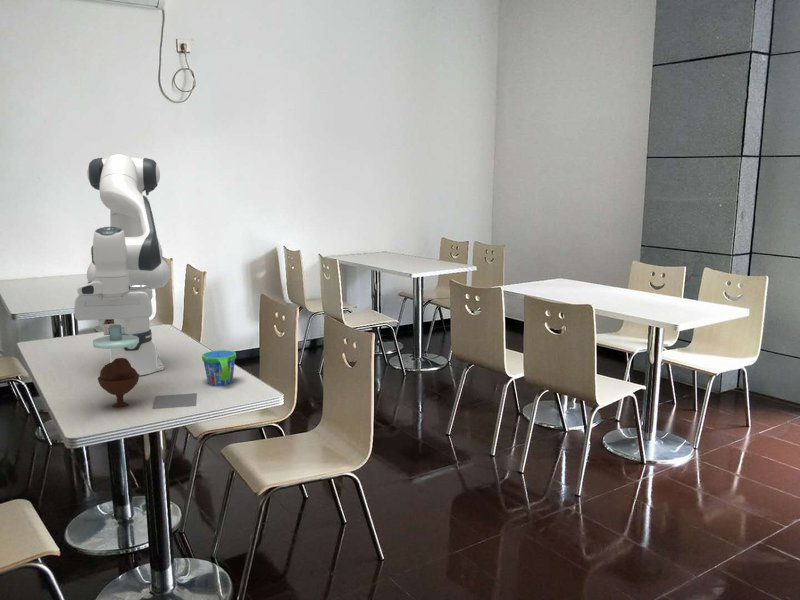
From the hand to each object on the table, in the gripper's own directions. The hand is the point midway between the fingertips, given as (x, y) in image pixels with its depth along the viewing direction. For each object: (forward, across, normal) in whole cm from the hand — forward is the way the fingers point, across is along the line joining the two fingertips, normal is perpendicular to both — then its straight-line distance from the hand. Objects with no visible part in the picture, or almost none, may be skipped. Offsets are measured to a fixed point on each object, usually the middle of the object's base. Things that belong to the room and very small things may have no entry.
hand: (115, 334), depth 196 cm
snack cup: (+22, -28, -17) cm, 39 cm away
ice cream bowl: (+22, 0, -1) cm, 22 cm away
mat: (+22, -15, -1) cm, 27 cm away
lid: (+3, 0, 0) cm, 3 cm away
